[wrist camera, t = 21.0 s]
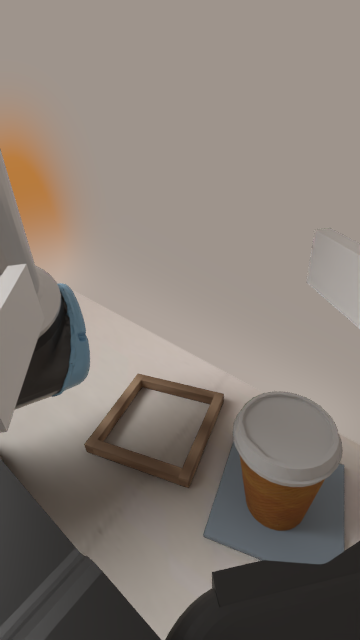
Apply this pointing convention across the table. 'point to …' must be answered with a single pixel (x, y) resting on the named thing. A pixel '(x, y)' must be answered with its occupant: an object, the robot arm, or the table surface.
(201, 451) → the cup holder frame
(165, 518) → the table surface
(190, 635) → the robot arm
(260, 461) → the disposable coffee cup
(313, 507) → the rubber mat
